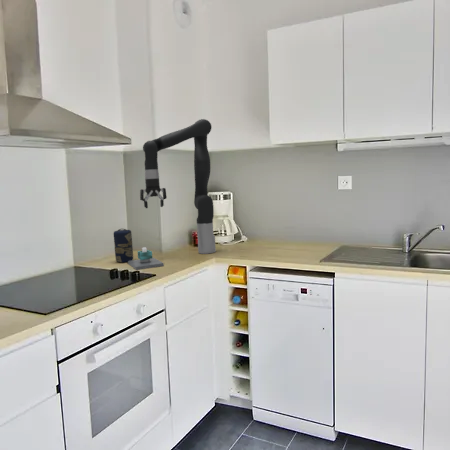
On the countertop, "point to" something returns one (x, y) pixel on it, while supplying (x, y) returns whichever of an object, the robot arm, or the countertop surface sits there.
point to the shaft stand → (145, 262)
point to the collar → (145, 255)
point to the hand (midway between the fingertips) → (154, 207)
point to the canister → (123, 245)
